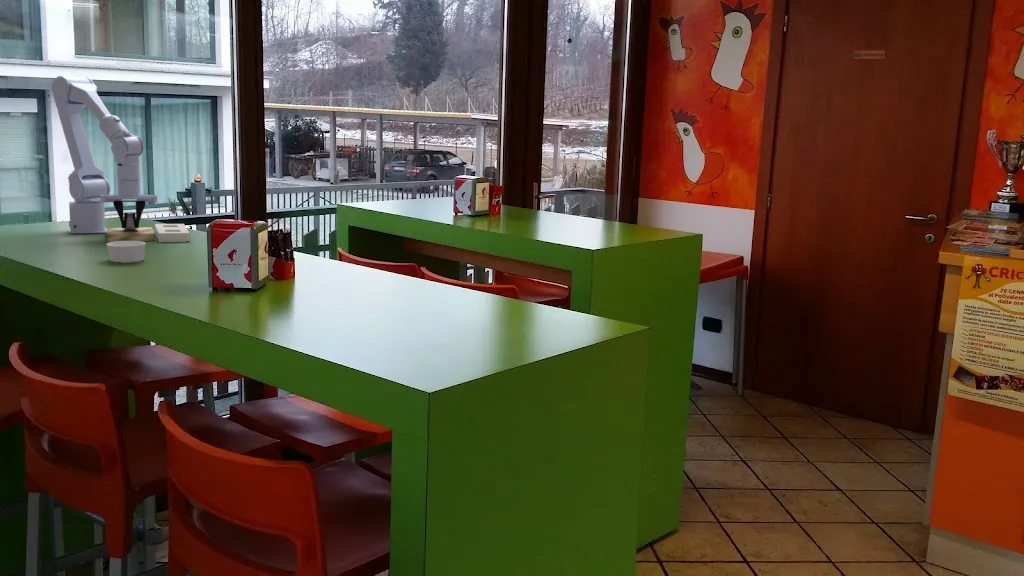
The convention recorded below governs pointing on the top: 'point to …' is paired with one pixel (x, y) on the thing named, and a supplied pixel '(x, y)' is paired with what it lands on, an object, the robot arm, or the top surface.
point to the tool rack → (171, 233)
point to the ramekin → (126, 251)
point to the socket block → (130, 234)
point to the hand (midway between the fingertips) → (130, 227)
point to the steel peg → (130, 221)
